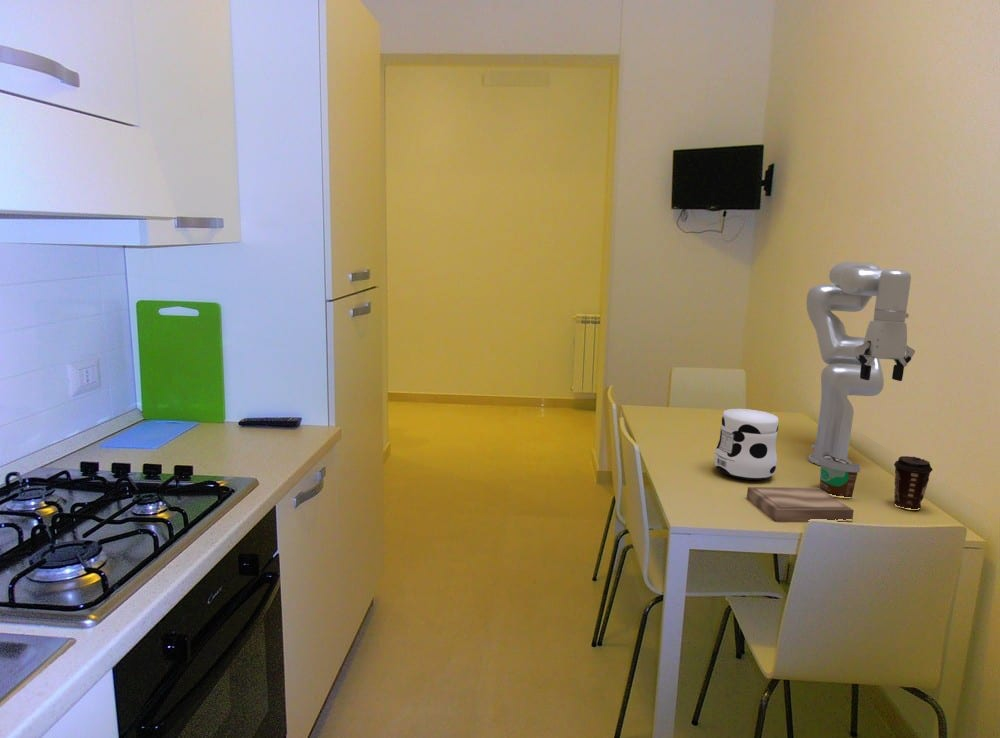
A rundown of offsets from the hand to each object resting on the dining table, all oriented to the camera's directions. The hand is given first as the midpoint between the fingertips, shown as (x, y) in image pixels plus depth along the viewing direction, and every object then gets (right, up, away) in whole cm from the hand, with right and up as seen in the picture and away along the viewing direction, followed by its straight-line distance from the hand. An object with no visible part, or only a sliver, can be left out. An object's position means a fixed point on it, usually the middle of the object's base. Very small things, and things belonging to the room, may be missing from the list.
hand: (880, 379), depth 197 cm
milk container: (-32, -28, +16) cm, 45 cm away
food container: (-12, -32, +3) cm, 34 cm away
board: (-27, -33, -10) cm, 44 cm away
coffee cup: (+5, -34, -5) cm, 34 cm away
